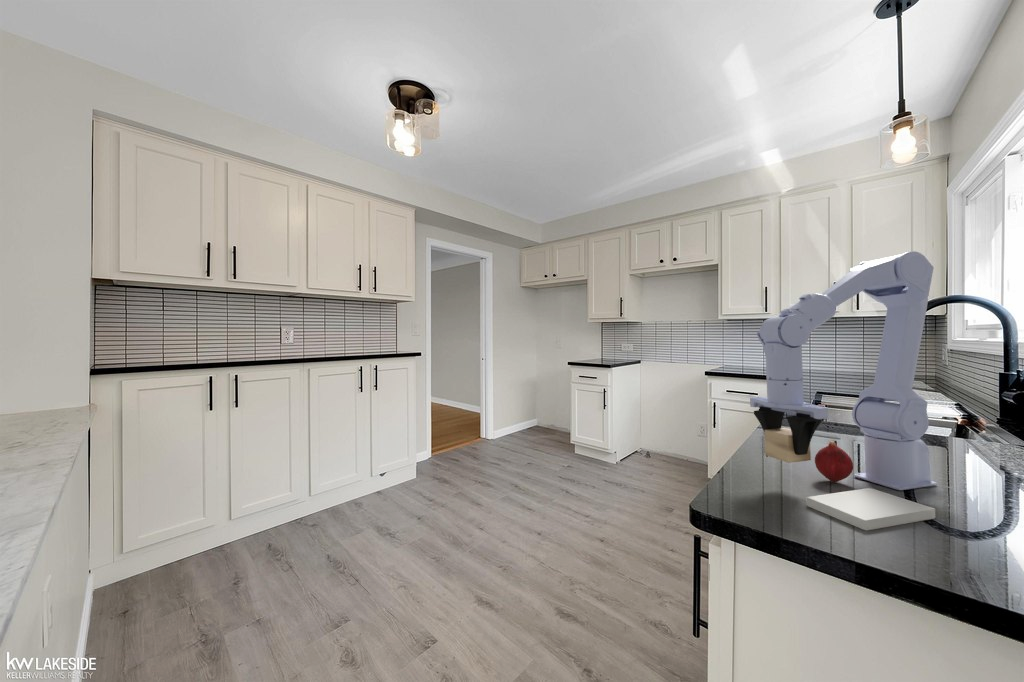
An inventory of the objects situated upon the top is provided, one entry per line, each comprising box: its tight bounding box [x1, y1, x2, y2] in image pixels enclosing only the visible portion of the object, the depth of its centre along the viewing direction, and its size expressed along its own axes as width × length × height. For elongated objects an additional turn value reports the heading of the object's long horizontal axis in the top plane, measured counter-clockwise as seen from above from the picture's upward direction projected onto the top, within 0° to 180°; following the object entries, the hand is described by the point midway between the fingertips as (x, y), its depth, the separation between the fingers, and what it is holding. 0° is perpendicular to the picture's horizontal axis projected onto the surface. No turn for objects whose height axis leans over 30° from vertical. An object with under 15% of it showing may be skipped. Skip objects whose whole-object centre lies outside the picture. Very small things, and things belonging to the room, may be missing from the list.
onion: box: [814, 440, 854, 483], centre depth 76 cm, size 6×6×8 cm
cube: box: [763, 427, 812, 464], centre depth 73 cm, size 5×5×5 cm
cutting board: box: [806, 487, 936, 531], centre depth 63 cm, size 14×9×2 cm, turn 102°
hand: (787, 450), depth 73 cm, fingers closed on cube, 5 cm apart
